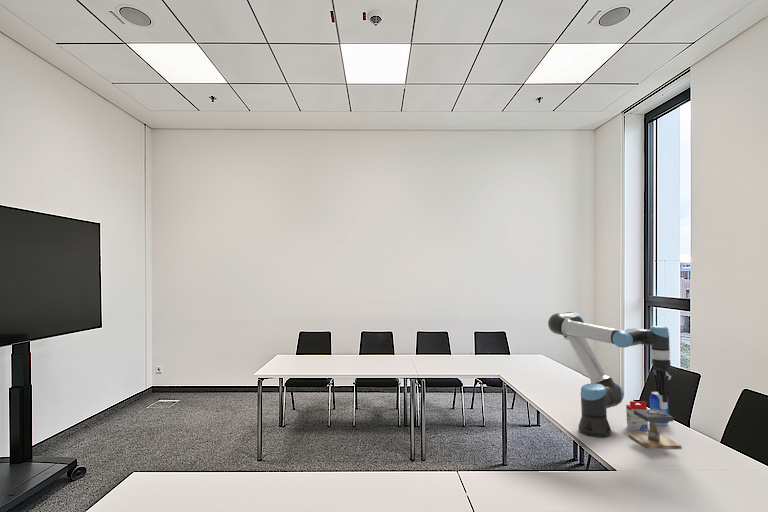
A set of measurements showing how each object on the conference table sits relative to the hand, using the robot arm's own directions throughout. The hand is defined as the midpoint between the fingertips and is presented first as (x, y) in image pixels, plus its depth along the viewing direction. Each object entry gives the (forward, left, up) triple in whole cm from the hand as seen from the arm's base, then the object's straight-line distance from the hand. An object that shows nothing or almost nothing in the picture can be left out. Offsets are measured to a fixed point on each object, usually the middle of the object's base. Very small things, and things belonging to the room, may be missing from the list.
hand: (663, 408), depth 217 cm
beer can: (+13, +27, -16) cm, 34 cm away
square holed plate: (-5, 0, -4) cm, 7 cm away
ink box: (-3, +19, -16) cm, 25 cm away
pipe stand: (-5, 0, -16) cm, 17 cm away
